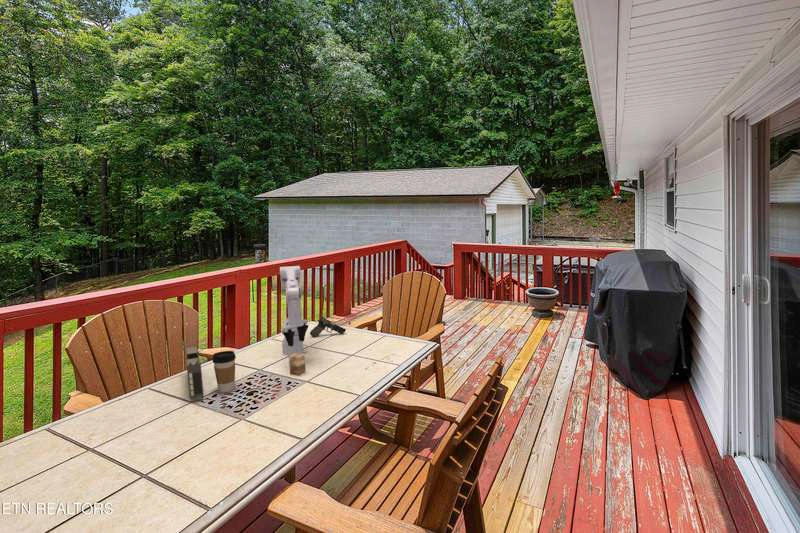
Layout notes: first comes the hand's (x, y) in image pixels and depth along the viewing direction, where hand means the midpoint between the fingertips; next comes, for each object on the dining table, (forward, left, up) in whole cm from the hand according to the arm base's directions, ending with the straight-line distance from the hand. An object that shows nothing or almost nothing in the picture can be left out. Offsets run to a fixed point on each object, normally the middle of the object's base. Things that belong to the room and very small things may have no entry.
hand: (296, 343), depth 182 cm
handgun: (-13, +43, -11) cm, 46 cm away
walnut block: (+7, -8, -10) cm, 14 cm away
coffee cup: (-10, -31, -11) cm, 34 cm away
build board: (+4, -8, -10) cm, 14 cm away
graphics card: (-25, -33, -11) cm, 43 cm away
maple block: (+7, -8, -6) cm, 12 cm away
